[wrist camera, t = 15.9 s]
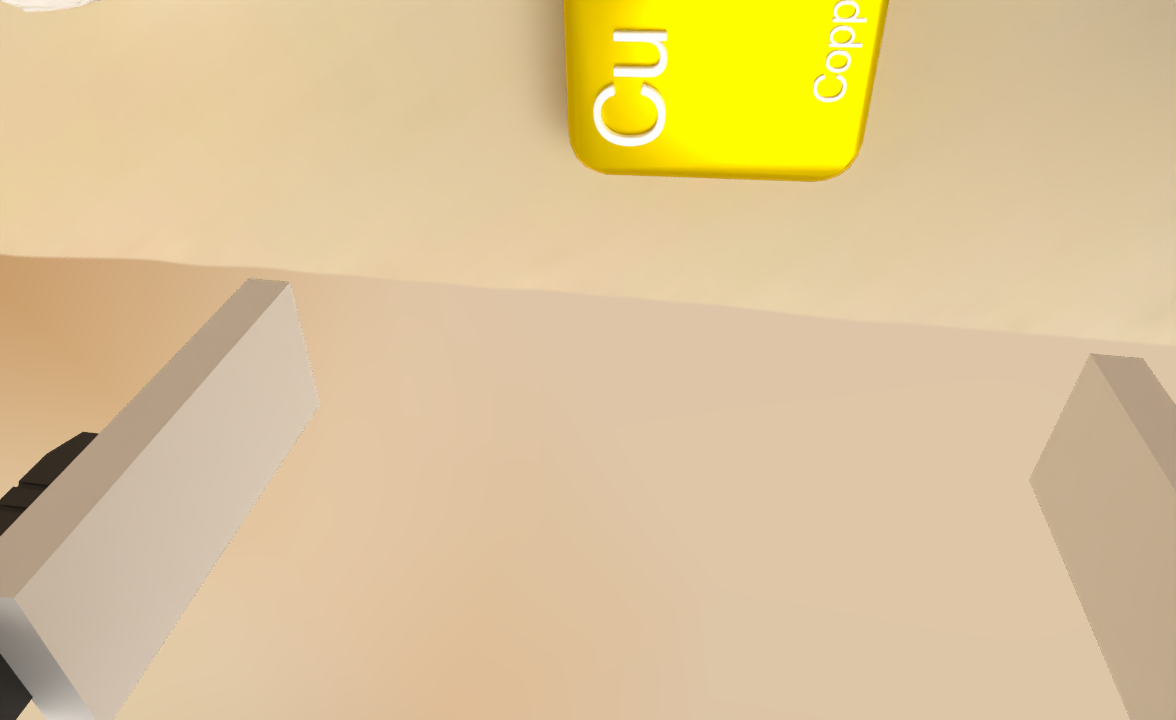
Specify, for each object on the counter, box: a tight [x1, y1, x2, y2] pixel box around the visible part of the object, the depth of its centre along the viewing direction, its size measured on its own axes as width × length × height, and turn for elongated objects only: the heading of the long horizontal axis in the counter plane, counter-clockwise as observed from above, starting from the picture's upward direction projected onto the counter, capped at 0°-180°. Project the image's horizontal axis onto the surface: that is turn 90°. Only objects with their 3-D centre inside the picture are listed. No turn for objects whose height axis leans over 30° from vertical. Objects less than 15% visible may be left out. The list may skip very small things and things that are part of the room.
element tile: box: [563, 0, 889, 182], centre depth 39 cm, size 15×15×5 cm
